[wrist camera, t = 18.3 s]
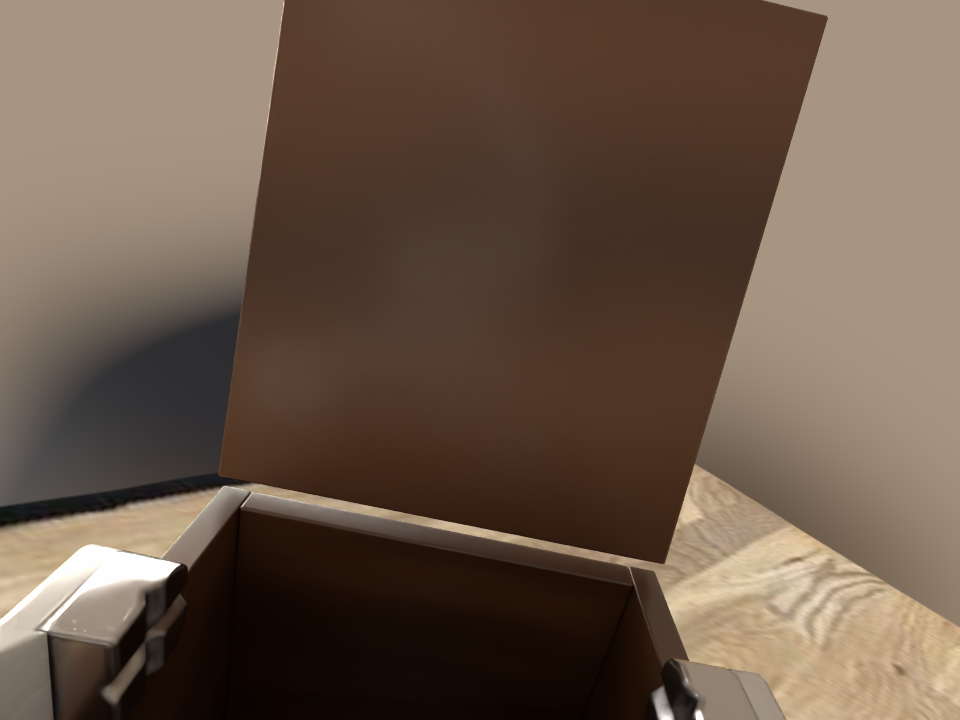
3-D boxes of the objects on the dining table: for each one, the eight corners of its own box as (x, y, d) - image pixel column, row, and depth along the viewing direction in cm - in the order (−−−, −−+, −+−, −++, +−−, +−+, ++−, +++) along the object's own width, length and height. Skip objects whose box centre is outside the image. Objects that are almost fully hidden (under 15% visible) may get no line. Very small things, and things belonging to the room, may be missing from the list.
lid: (830, 14, 12) (807, 31, 13) (298, -115, 12) (310, -90, 13) (665, 565, 15) (654, 549, 16) (216, 476, 14) (231, 465, 15)
